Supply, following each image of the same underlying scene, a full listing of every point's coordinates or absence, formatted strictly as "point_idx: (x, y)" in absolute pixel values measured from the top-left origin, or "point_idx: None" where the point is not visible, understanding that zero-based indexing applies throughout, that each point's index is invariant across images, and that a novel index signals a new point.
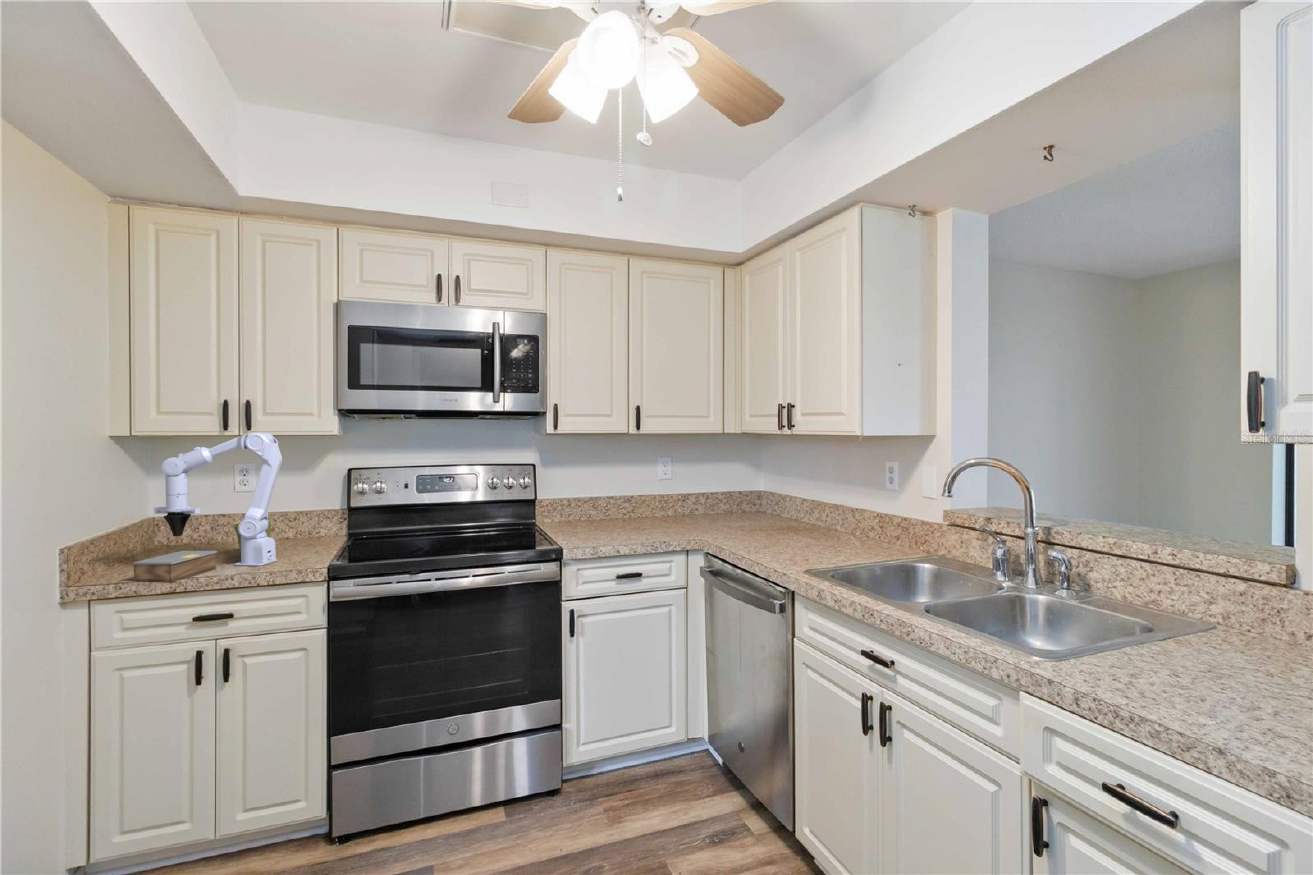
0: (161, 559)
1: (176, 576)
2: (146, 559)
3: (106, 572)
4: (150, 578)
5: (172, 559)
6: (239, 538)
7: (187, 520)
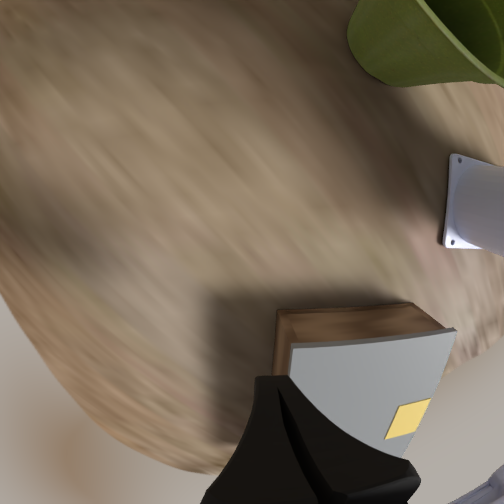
0: None
1: None
2: None
3: (61, 368)
4: None
5: None
6: (422, 65)
7: (363, 444)
